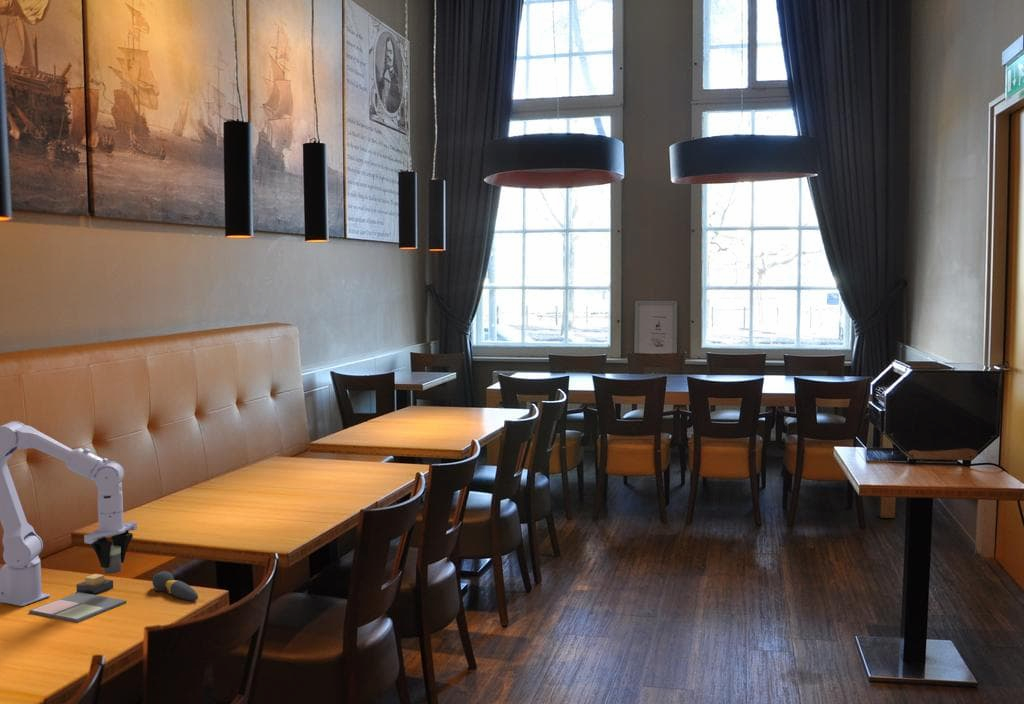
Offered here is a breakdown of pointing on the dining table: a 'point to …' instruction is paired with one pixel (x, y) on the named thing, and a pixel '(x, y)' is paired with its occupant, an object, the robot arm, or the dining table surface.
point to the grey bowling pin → (173, 586)
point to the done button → (94, 579)
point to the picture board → (77, 607)
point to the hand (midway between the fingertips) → (112, 564)
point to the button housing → (94, 587)
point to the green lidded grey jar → (114, 560)
